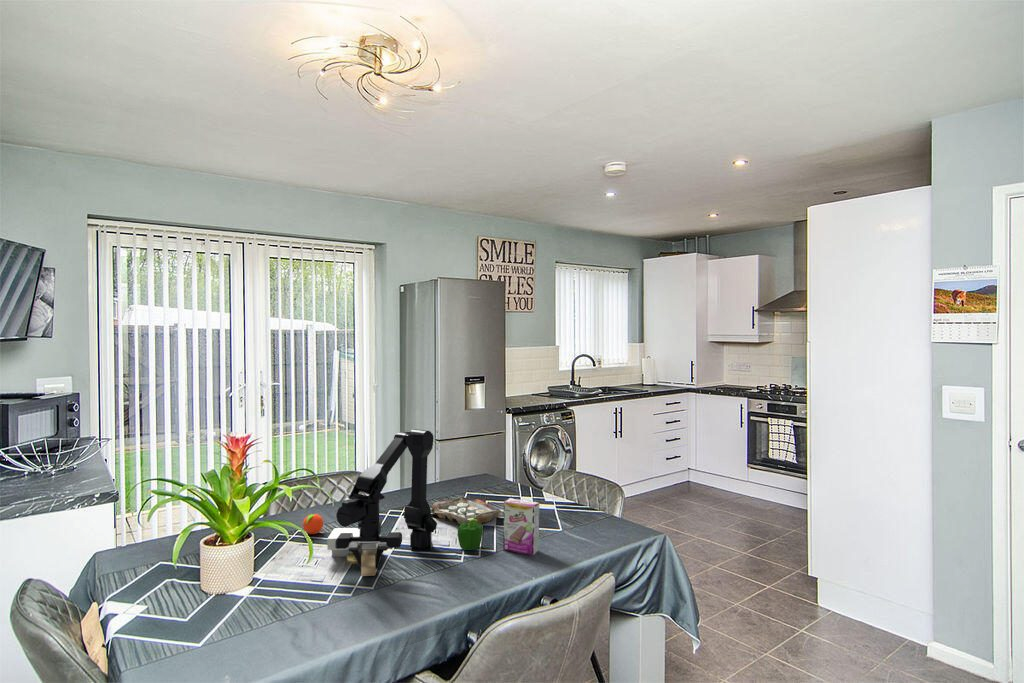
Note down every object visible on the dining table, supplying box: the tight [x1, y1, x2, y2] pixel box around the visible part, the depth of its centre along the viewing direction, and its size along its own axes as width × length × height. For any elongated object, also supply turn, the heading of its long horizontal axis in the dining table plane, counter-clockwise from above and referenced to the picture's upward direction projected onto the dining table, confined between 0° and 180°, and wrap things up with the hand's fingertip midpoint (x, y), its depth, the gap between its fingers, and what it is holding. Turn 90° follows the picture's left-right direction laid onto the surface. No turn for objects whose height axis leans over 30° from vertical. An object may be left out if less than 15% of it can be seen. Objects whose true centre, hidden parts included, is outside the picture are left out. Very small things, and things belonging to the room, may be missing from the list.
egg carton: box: [430, 496, 504, 525], centre depth 221 cm, size 30×22×5 cm
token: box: [346, 553, 358, 565], centre depth 179 cm, size 5×5×2 cm
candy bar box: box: [502, 497, 540, 556], centre depth 187 cm, size 11×5×16 cm, turn 65°
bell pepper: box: [457, 519, 484, 551], centre depth 190 cm, size 8×8×10 cm
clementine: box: [302, 513, 324, 535], centre depth 201 cm, size 8×7×7 cm
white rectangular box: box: [326, 527, 382, 558], centre depth 181 cm, size 15×9×8 cm, turn 94°
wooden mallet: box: [360, 548, 378, 577], centre depth 174 cm, size 4×15×6 cm, turn 4°
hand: (369, 568), depth 169 cm, fingers closed on wooden mallet, 4 cm apart
